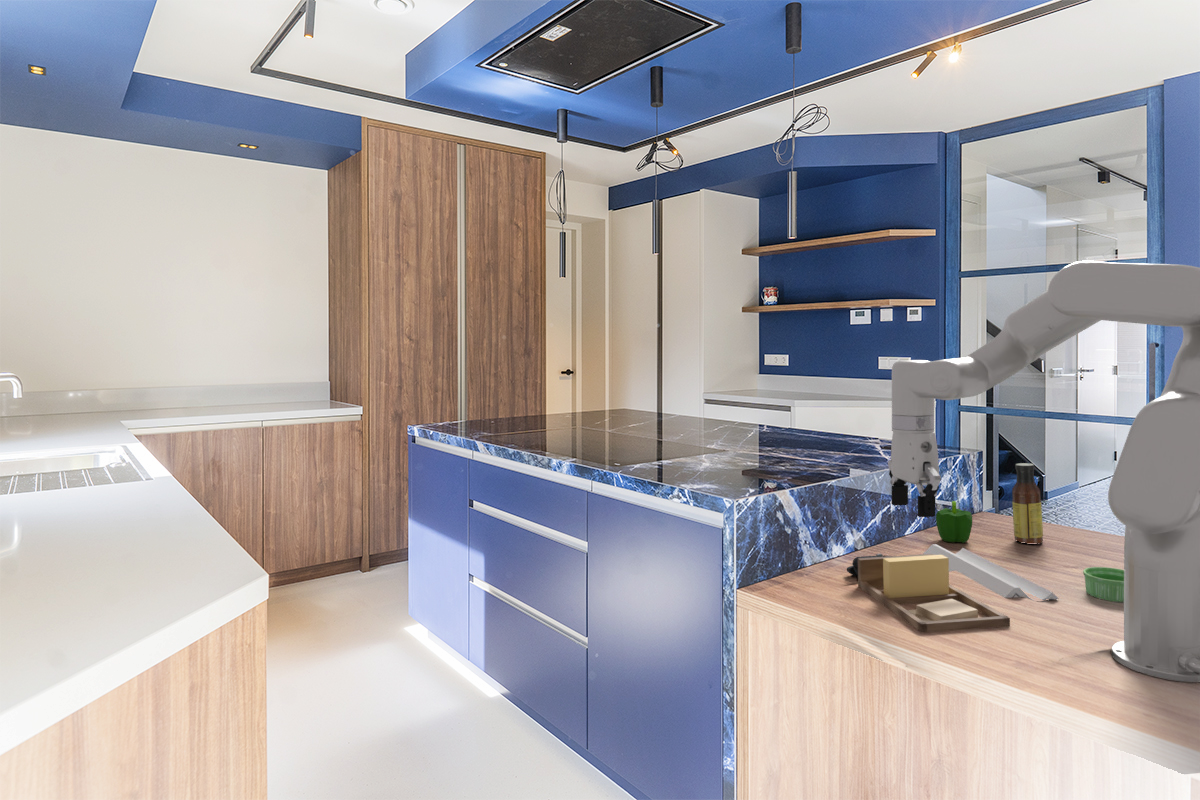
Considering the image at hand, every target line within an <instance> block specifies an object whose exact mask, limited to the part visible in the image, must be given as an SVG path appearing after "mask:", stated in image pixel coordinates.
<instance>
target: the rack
mask: <svg viewBox="0 0 1200 800" xmlns="http://www.w3.org/2000/svg"><path fill="white" fill-rule="evenodd" d="M928 555H934V554H923V553H922V554H921V553H920V554H918V553H917V554H906V555H903V554H902V555H887V556H888V557H872V558H858V577H857V580H858V581H857V585H858V588H859V589H861V590H862V591H863V592H865V593H866V594H868V595H869V596H871V597H872V599H875V600H876V601H877V602H878V603H880V604H881V605H883V606H884V607H886V608H887V609H888V610H890V612H892V613H894V614H895V615H896V616H898V617H899V618H901V620H904V621H905V622H906V623H907V624H908V625H910V626H912V627H913V628H914V629H916V630H917V631H918V632H920V633H935V632H947V631H948V632H949V631H961V630H977V629H989V628H990V629H991V628H1001V627H1002V628H1004V627H1010V626H1011V620H1010V619H1011V618H1010V617H1009V616H1007V615H1006V614H1004V613H1002V612H1000V611H998V610H996V609H995V608H993V607H991V606H989V605H988V604H985V603H984V602H982V601H980V600H979V599H977V598H975V597H973V596H971V595H969V594H968V593H966V592H964V591H962V590H960V589H958V588H957V587H955V586H953V585H951V584H950V583H949V594H943V595H929V596H914V597H900V598H889V597H887V596H886V595H885V594H884V589H877V588H884V581H883V558H897V557H913V556H928ZM947 599H954V600H956V601H959V602H961V603H963V604H966V605H968V606H970V607H973V608H975V609H977V610H978V613H980V614H982V615H984V616H983V617H978V618H968V619H954V620H940V621H926V622H924V621H922V620H921V619H919V618H918V617H916V616H915V615H914V614H912V613H911V612H909V611H908V610H909V609H908V610H907V609H906V608H905V607H903V606H902V605H909V604H911V605H913V604H925V603H930V602H936V601H942V600H947Z"/></svg>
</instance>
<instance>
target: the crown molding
mask: <svg viewBox="0 0 1200 800" xmlns="http://www.w3.org/2000/svg"><path fill="white" fill-rule="evenodd" d="M922 554H934V555H943V556H945V557H947V558H949V573H950V572H957V573H960V574H962V575H963V576H965V577H966V578H968V579H970V580H972V581H974V582H976V583H977V584H979V585H980V586H983V587H985V588H986V589H988V590H990V591H991V592H993V593H995V594H997V595H999V596H1001V597H1002V598H1004V599H1009V598H1010V599H1011V598H1026V599H1029V600H1032V601H1034V600H1033V599H1031V598H1029V597H1028V596H1027V595H1026V594H1025V593H1024V592H1023V591H1025V592H1027V593H1030V594H1032V595H1033V596H1036V597H1038V598H1040V599H1042V600H1046V599H1050V600H1055V599H1056V600H1057V599H1058V600H1059V597H1058V596H1057V595H1056V594H1055V593H1054V592H1053V591H1051V590H1049V589H1047V588H1045V587H1043V586H1042V585H1039V584H1037V583H1035V582H1033V581H1031V580H1028V579H1027V578H1025V577H1023V576H1021V575H1018V574H1017V573H1014V572H1013V571H1011V570H1008V569H1007V568H1004V567H1002V566H1001V565H998V564H996V563H995V562H992V561H990V560H988V559H987V558H984V557H983V556H981V555H978V554H976V553H974V552H972V551H970V550H969V549H966V548H965V547H962V548H961V549H960V550H959V551H957V552H956V553H954V552H952V551H950V550H949V549H946V548H944V547H943V546H941V545H939V544H936V543H934V544H933V543H932V544H931V545H930V546H929V547H928V548H927V549H926V550H925V551H924V552H923V553H922ZM1021 589H1022V590H1023V591H1022V590H1021Z"/></svg>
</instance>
